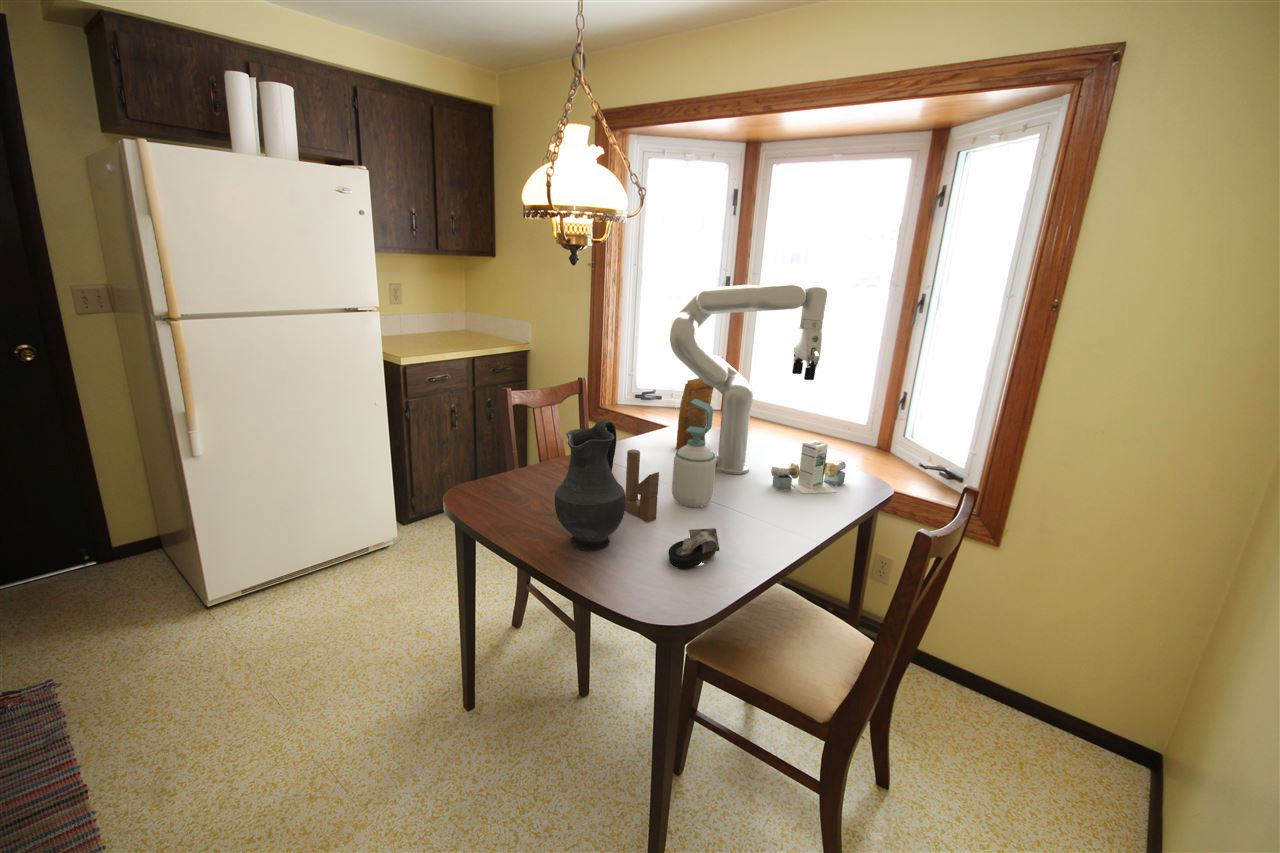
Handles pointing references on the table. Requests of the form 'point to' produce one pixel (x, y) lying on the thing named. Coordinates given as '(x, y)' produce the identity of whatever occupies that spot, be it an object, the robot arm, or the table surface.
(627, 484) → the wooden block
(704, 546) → the caster wheel
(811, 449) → the syrup box
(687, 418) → the pancake mix bag
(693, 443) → the soap bottle
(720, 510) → the table surface
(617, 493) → the pitcher
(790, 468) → the shaft
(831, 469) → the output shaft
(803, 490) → the mat
